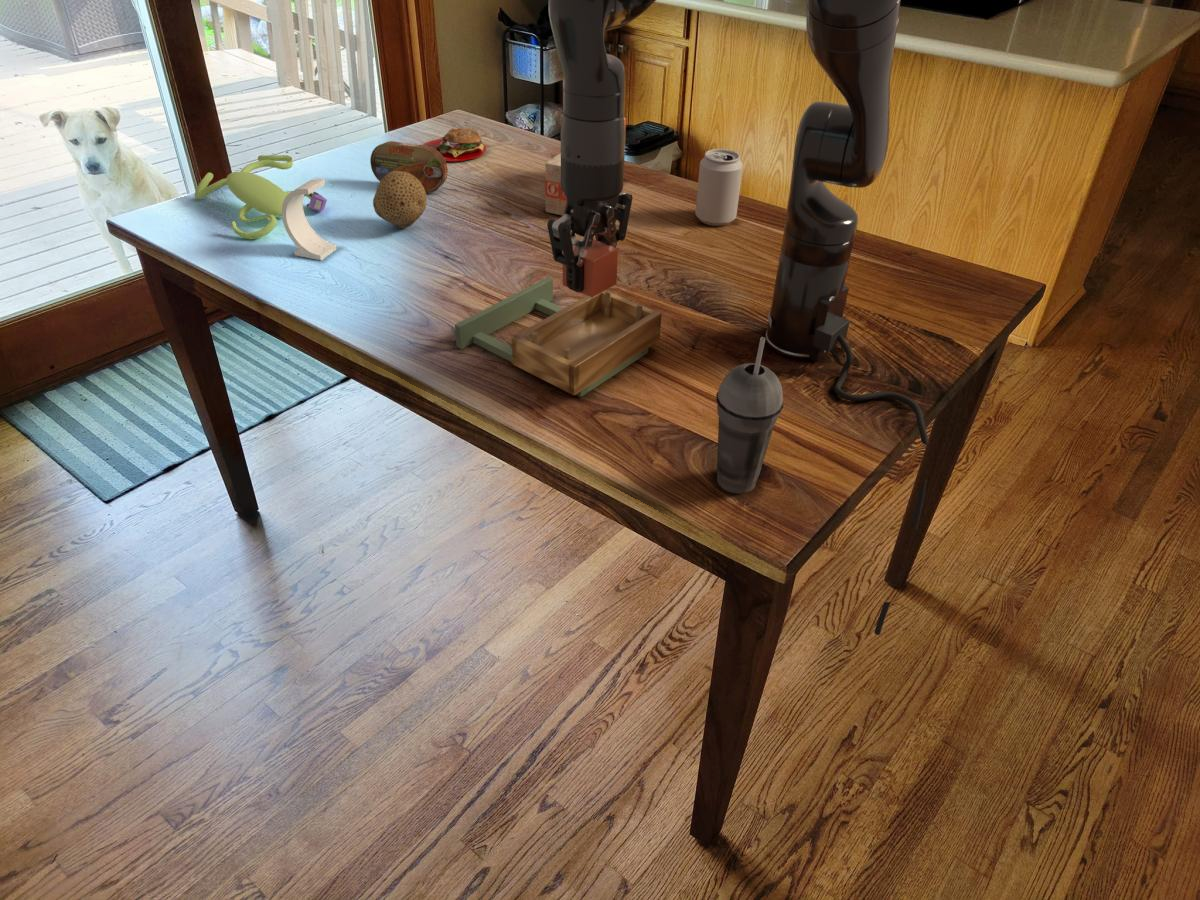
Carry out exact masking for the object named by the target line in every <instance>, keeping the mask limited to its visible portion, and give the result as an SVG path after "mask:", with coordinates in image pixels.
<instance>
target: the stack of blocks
mask: <svg viewBox="0 0 1200 900" xmlns="http://www.w3.org/2000/svg"><path fill="white" fill-rule="evenodd" d="M624 123H625V131H626V129H627V126H626V125H627V118H626V117H624ZM624 178H625V177H623V180H624ZM544 195H545V201H544V202H545V204H544V205H545V212H546V213H550V214H555V215H559V216H561V217H562V216H563V215H564V210H565V207H566V203H567V198H566V196H565V194H564V192H563V191H562V189H561V152H560V153H558V154H556V155H555V156H554V157H552V158H551V159H549V160H547V162H545V180H544Z"/></svg>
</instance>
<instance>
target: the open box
mask: <svg viewBox="0 0 1200 900" xmlns="http://www.w3.org/2000/svg"><path fill="white" fill-rule="evenodd" d="M563 308H564V309H562V310H560V311H558V312H556V313H555V314H553V315H551V316H550V315H548V316H547V317H545V318H544V319H542V320H540V321H539V322H537V323H535V324H533V325H532V326H531V325H530V326H529V327H527V328H526V329H524V330H522V331H520V332H518V333H516V334H515V335H513V336H511V337H510V339H511V340H510V341H511V347H512V362H511V363H512V365H513V366H514V367H517V368H519V369H521V370H523V371H525V372H527V373H529V374H530V375H532V376H534V377H537V378H539V379H540V380H543V381H545V382H546V383H548V384H550V385H553V386H554V387H556V388H558V389H561V390H562V391H564V392H566V393H568V394H571V395H572V396H577V395H576V394H577V393H579V392H580V391H582V390H583V389H585V388H586V387H588V386H590V385H591V384H593V383H594V382H596V381H597V380H599V379H600V378H602V377H603V376H605V375H606V374H608V373H609V372H611V371H612V370H614V369H616V368H617V367H619V366H620V365H622V364H623V363H625V362H626V361H628V360H629V359H631V358H632V357H634V356H635V355H637V354H639V353H640V352H642V351H643V350H645V349H646V348H648V349H649V347H651V346H652V345H654V344H656V343H657V342H658V341H660V338H661V329H662V328H661V327H662V317H663V315H662V314H663V312H662V311H660V310H657V309H655V310H654V309H652V308H649V307H646V306H644V305H643V304H642V303H637V302H635V301H632V300H630V299H628V298H626V297H624V296H620V295H618V294H616V293H613V292H612V291H610V290H605V291H603V292H601V293H599V294H598V295H596V296H594V297H590V296H587V295H585V296H584V297H582V298H580V299H578V300H577V301H575V302H573V303H571V304H569V305H567V306H566V307H563Z"/></svg>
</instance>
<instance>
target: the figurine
mask: <svg viewBox="0 0 1200 900" xmlns="http://www.w3.org/2000/svg"><path fill="white" fill-rule="evenodd" d="M257 160H258V161H254V162H251V163H249V164H247V165H245V166H244V167H243V168H242V169H241V170H240V171H232V172H231V173H229V174H227V176H226V178H222V179H220V180H217V181H216V182H214V183H212V184H210V183H211V181H212V180H213V178H214V174H213V173H212V172H207V173H206V174H205V176H203V178H202V179H201V181H200V182H199V183H198V185H197V187H196V189H195V192H194V198H195V199H196V200H203V199H205V198H207V196H208V195H210V194H212V193H214V192H216V191H217V190H219V189H221V188H223V187H225V186H227V187H228V189H229V191H230V193H232V194H233V195H234V196H235V197H236V198H237V199H238V200H240V201H241V202H242V203H244V204H245V205H243V206H242V207H241V208H240V209H239V212H238V214H237V216H238V220H239V221H240V222H242V223H250V222H255V221H256V222H257V221H261V220H263V219H264V220H265V219H266V220H267V221H269V222H268V223H267V224H266V225H265V226H264V227H263V228H260V229H258V230H255V231H250V232H247V231H243V230H242V229H239V227H238V226H237V223H236V222H235V221H234V220H233V221H232V222H231V228H232V230H233V233H235V234H236V235H237V236H239V237H241V238H242V239H245V240H256V239H259V238H262V237H265V236H267V235H269V234H270V233H271V232H272V231H273V230H274V229H275V228H276V226H277V225H278V219H277V217H282V204H283V201H284V199H285V197H286V196H287V195H288V194H289V193H290V192H292V191H293V190H289V191H288V190H287V191H284V190H283V189H282V188H281V187H279V186H278V185H276V184H275V183H274V182H272V181H271V180H269V179H267V178H265V177H263V176H261V175H258V174H254V173H251V172H252V171H253V170H257V169H261V168H264V167H265V168H266V167H268V168H274V169H277V170H278V169H279V170H282V171H283V170H290V169H291V168H292V167H293V164H294V161H293V157H292V156H291V155H285V154H268V155H267V154H265V155H264V154H261V155H258V157H257ZM304 197H306V198H308V199H309V200H310V201H309V203H307V204H306V207H307V208H309V209H311V210H314V211H316V212H319V213H321V212H323V211H324V210H325V208H326V204H327V201H328V199H327V198H325V197H324V196H323V195H322V194H319V193H318V192H316V191H313V192H312V193H310V194H305V195H304ZM252 209H253V210H254V211H257V212H259V213H262V214H263V215H261V216H257V217H252V218H247V217H246V216H247V213H248V212H250V211H251V210H252ZM264 214H265V215H264Z"/></svg>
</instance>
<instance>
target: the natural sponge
mask: <svg viewBox="0 0 1200 900" xmlns="http://www.w3.org/2000/svg"><path fill="white" fill-rule="evenodd" d="M372 205H373V206H372V207H373V209H374V212H375V214H376V215H377V216H378V217H379V218H380V219H382V220H384V221H386V222H388V223H389V224H391V225H392V226H395V227H396V228H399V229H407V228H409V227H411V226H412V225H414V224H415V223H416V221H417V220H418V219H420V217H421V216H422V215H423V214H424V212H425V210H426V207H427V193H426V192H425V189H424V187H423V186H422V184H421V182H420V181H419V180H418V179H417V178H416V177H415V176H413V175H412V174H410V173H408V172H403V171H393V172H390V173H388V174H387V175H386V176H384V177H383V179H382V180H381V181H379V183H378V185H377V188H376V190H375V193H374V197H373V198H372Z"/></svg>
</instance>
